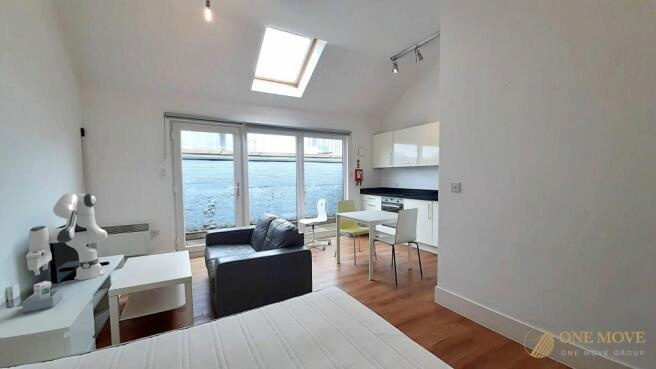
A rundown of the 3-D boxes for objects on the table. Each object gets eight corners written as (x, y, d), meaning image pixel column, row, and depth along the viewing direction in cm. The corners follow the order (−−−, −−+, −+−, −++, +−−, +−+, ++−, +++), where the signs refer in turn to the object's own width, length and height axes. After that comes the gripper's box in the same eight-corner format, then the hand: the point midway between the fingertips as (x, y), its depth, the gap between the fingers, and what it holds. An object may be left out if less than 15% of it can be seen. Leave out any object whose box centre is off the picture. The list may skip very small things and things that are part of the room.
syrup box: (41, 307, 162) (40, 285, 161) (34, 306, 163) (33, 284, 162) (52, 302, 167) (51, 281, 167) (45, 301, 168) (44, 280, 168)
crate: (34, 303, 168) (33, 293, 168) (62, 298, 175) (62, 288, 174) (22, 313, 156) (22, 302, 156) (53, 307, 163) (52, 296, 162)
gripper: (41, 247, 171) (42, 267, 172) (24, 257, 153) (25, 278, 154) (54, 246, 174) (55, 265, 175) (38, 255, 156) (40, 276, 157)
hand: (41, 272), depth 164 cm, fingers open, 8 cm apart
